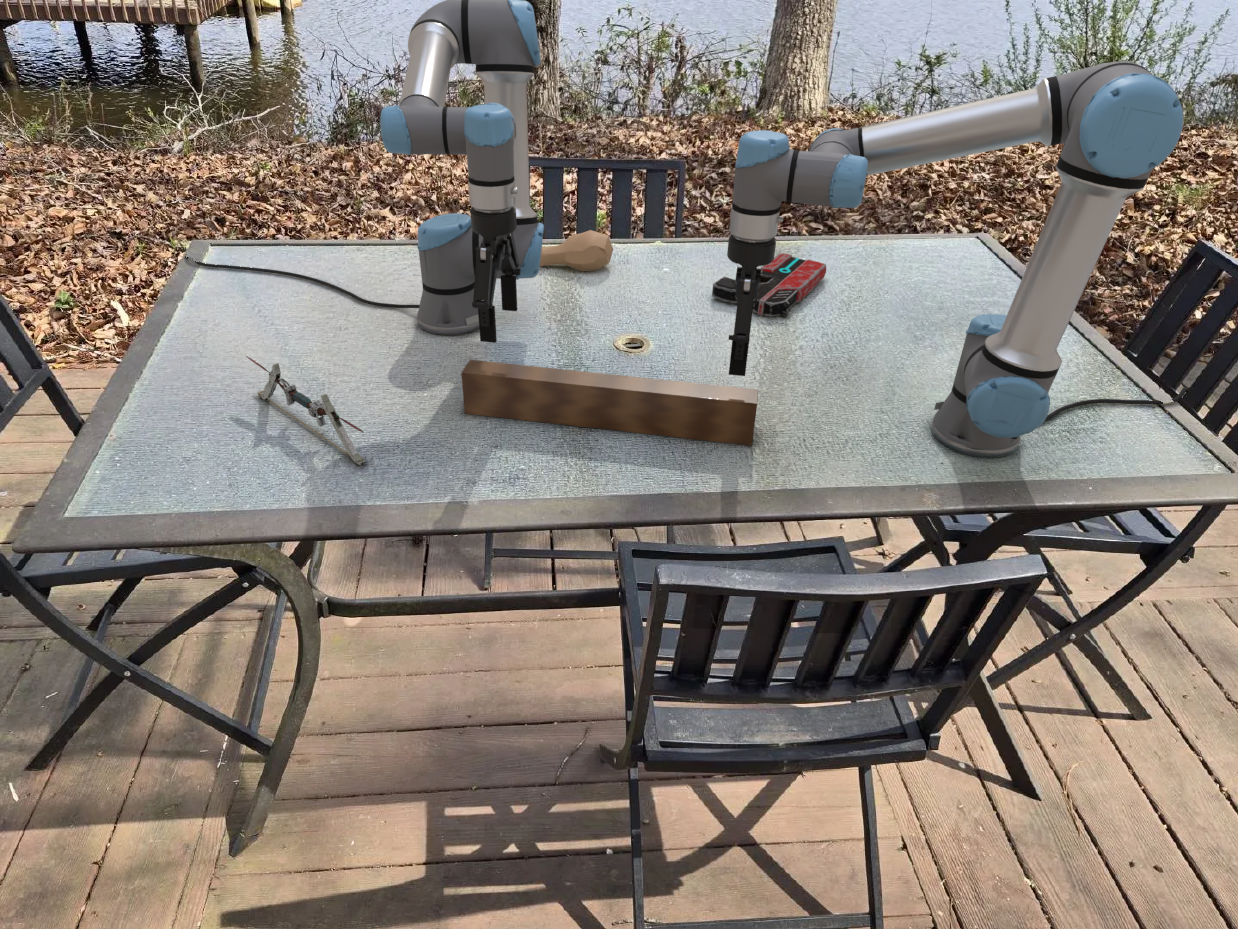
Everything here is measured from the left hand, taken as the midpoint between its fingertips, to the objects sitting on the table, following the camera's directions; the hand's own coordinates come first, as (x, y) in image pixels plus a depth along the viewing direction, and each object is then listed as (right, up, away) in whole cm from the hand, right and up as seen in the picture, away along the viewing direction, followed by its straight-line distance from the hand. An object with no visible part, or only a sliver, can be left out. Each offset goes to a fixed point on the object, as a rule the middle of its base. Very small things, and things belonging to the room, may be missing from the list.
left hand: (499, 325), depth 157 cm
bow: (-34, -19, +1) cm, 39 cm away
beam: (+19, -17, +6) cm, 26 cm away
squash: (+10, +26, +70) cm, 75 cm away
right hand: (+42, -6, -6) cm, 43 cm away
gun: (+59, +18, +60) cm, 86 cm away
